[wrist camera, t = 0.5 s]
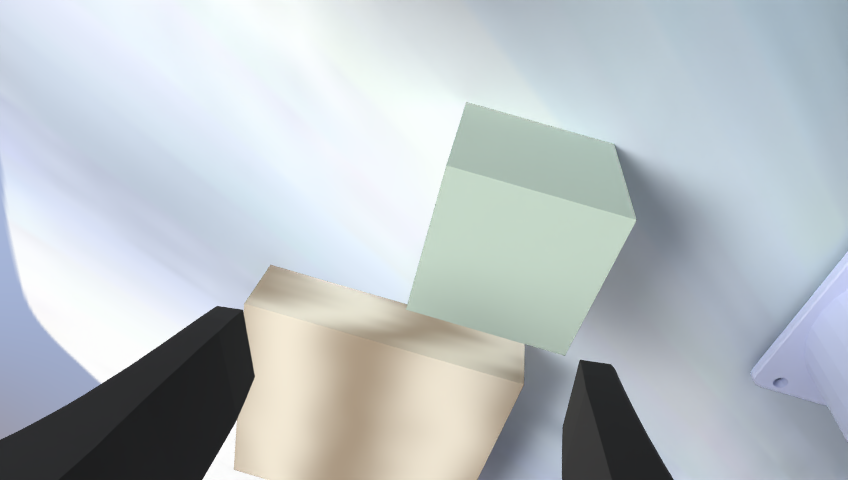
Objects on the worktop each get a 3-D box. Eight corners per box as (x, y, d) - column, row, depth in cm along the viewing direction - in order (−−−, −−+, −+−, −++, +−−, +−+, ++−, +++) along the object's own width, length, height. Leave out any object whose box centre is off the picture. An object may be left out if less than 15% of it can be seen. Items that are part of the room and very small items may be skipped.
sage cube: (613, 143, 18) (636, 220, 14) (559, 262, 21) (564, 355, 17) (466, 101, 18) (446, 165, 14) (431, 225, 21) (406, 309, 17)
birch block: (524, 331, 24) (524, 384, 21) (457, 478, 30) (450, 533, 27) (274, 258, 24) (244, 303, 21) (258, 420, 30) (233, 469, 27)
